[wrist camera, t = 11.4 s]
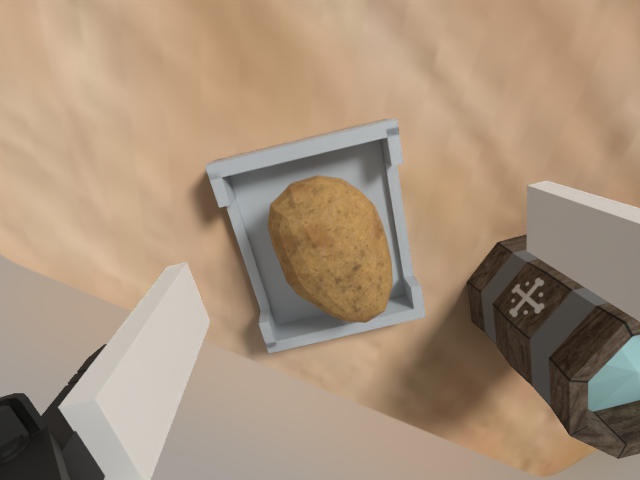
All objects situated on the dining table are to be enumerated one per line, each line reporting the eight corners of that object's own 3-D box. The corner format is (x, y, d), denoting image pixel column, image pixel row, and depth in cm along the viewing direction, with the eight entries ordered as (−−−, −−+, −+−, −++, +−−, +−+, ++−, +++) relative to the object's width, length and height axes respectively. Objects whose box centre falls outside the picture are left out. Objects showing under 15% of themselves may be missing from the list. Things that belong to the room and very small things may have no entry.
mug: (498, 359, 42) (603, 485, 27) (442, 279, 37) (530, 378, 23) (655, 264, 39) (862, 350, 24) (612, 165, 34) (831, 200, 20)
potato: (322, 312, 37) (329, 362, 30) (247, 200, 33) (232, 225, 25) (404, 267, 36) (433, 307, 28) (338, 145, 31) (351, 155, 24)
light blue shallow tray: (214, 160, 32) (204, 165, 29) (386, 118, 32) (397, 119, 28) (271, 333, 38) (268, 353, 35) (414, 299, 38) (425, 317, 35)
